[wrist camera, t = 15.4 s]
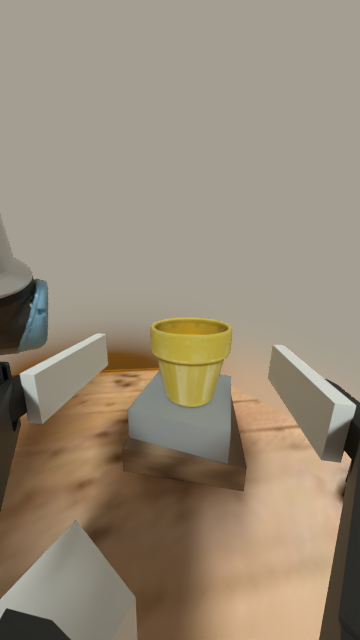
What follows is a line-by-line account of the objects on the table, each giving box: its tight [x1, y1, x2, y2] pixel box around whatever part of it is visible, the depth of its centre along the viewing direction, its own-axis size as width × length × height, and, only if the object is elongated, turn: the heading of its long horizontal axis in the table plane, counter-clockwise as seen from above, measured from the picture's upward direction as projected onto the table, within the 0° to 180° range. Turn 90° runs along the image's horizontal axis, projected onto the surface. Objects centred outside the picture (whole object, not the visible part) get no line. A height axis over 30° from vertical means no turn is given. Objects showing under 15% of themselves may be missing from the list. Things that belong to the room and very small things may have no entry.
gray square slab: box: [128, 370, 231, 464], centre depth 27 cm, size 12×12×4 cm
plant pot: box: [150, 318, 232, 407], centre depth 25 cm, size 10×10×10 cm
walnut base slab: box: [122, 397, 247, 491], centre depth 28 cm, size 14×14×4 cm
